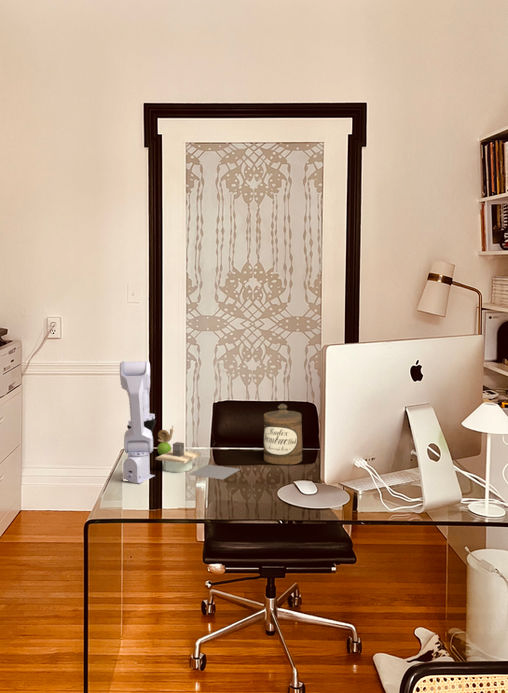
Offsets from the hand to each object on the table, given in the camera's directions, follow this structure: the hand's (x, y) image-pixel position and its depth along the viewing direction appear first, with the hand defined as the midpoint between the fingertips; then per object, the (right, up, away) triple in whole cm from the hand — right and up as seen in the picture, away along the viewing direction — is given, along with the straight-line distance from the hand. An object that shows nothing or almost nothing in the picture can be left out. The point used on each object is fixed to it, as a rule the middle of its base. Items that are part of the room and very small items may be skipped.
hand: (142, 441), depth 267 cm
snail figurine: (+7, -8, +16) cm, 19 cm away
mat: (+28, -10, -9) cm, 31 cm away
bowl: (+14, -10, -4) cm, 17 cm away
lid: (+14, -5, -5) cm, 16 cm away
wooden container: (+53, -9, +8) cm, 54 cm away
